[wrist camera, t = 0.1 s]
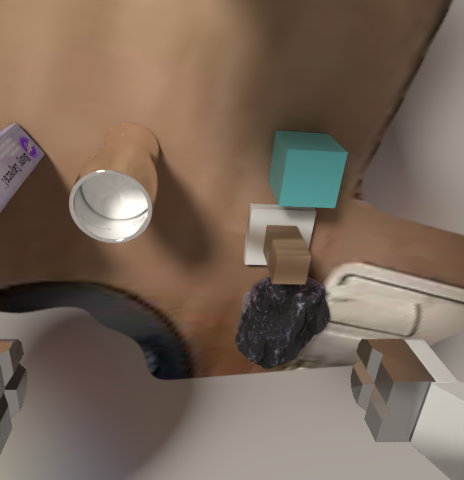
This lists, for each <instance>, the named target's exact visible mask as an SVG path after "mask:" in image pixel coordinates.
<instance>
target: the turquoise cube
mask: <svg viewBox="0 0 464 480" xmlns="http://www.w3.org/2000/svg"><path fill="white" fill-rule="evenodd" d="M347 155H348V152H347V151H346V150H345V149H344V148H343V147H342V146H341V145H340V144H339V143H338V142H337V141H336V140H335V139H334V138H333V137H332V136H331V135H329V134H324V133H307V132H291V131H276V132H275V139H274V146H273V153H272V160H271V167H270V174H269V184H270V187H271V189H272V191H273V194H274V196H275V198H276V200H277V203H278V205H279V206H294V207H319V208H335V206H336V202H337V198H338V193H339V189H340V185H341V180H342V176H343V172H344V167H345V163H346V159H347Z"/></svg>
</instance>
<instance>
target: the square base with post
mask: <svg viewBox="0 0 464 480" xmlns="http://www.w3.org/2000/svg"><path fill="white" fill-rule="evenodd" d="M315 216H316V209H315V208H314V207H294V206H279V205H278V204H253V203H250V209H249V217H248V226H247V234H246V242H245V251H244V263H245V265H267V266H268V270H269V273H270V277H271V280H272V283H273V284H306V279H307V275H308V270H309V265H310V261H311V254H310V252H309V245H310V240H311V235H312V231H313V226H314V221H315Z"/></svg>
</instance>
